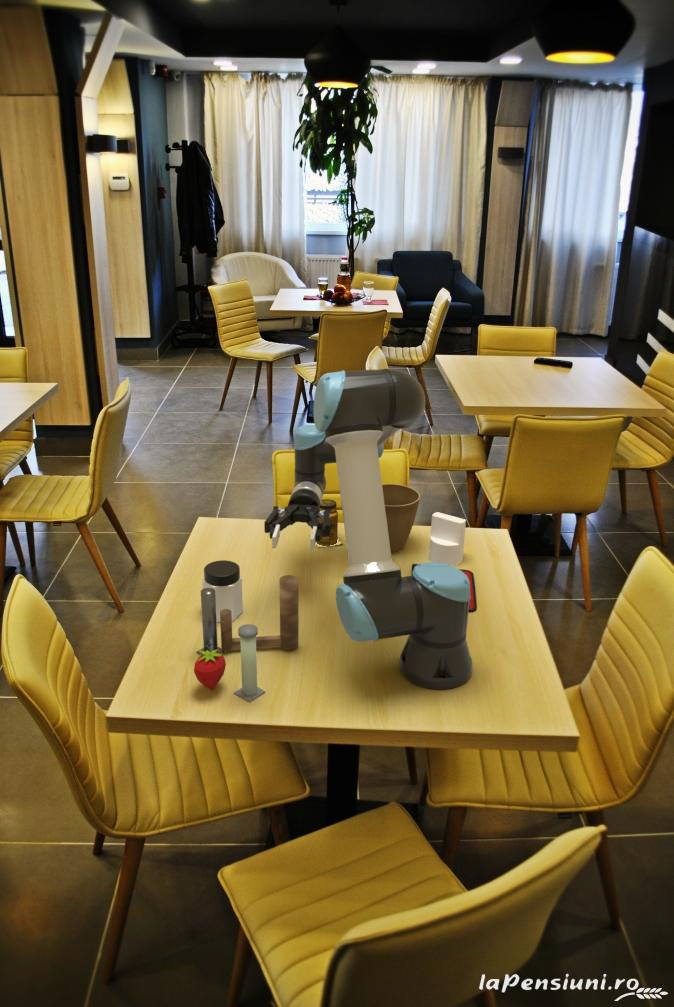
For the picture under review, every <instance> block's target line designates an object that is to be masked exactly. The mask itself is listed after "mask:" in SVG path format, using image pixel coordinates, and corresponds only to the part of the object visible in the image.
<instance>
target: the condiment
mask: <svg viewBox="0 0 674 1007" xmlns="http://www.w3.org/2000/svg"><path fill="white" fill-rule="evenodd" d="M326 509H331V520H330V524H331V534H330V536H325V535H322V537H321V541H316V542H317V544H319V545H322V546H330V545H334V544H336V543H337V539H338V538H339V536H338V531H339V529H338V527H339V525H338V524H339V523H338V522H339V521H338V520H339V518H338V517H339V512H338V510H337V509H338V508H337V502H336V500H334V499H330V498H329V499H327V498H326V499H322V501H321V505H320V511H325V510H326ZM317 519H318V521H319V522H320V523H322V527H324V521H323V520H322V518H321V516H320V517H319V518H317Z"/></svg>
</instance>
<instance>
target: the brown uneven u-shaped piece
mask: <svg viewBox="0 0 674 1007" xmlns="http://www.w3.org/2000/svg"><path fill="white" fill-rule="evenodd" d="M299 600H300V599H299V577H297V576H296V575H293V574H285V575H282V576H281V577H280V578H279V634H278V635H263V636H262V635H261V636H256V649H264V648H280V647H281V648H282V649H284V650H294V649H296V648H297V647H299V640H300V638H299V635H300V634H299V629H300V628H299V625H300V624H299V615H300V614H299V608H300V605H299ZM219 623H220V624H219V625H220V642H221V646H220V648H221V649H222V650H223V651H225V652H230V651H232V650H235V651H236V650H241V641H240V637H233V621H232V615H231V610H229V609H223V610H221V611H220V622H219Z"/></svg>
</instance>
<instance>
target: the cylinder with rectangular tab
mask: <svg viewBox="0 0 674 1007" xmlns="http://www.w3.org/2000/svg"><path fill="white" fill-rule="evenodd" d="M466 524H467V519H465V518H461V517H458V516H453V515H450V514H446V513H442V512H439V511H435V512H434V513H433V514H432V515H431V527H430V538H429V552H428V559H430V560H431V561H430V560H429V561H430V562H438V563H444V564H448V565H450V566H451V565H456V564H459V563H460V564H462V563H463V561H464V560H463V559H464V548H465V535H466ZM461 562H462V563H461ZM460 564H459V565H460ZM456 566H457V565H456Z"/></svg>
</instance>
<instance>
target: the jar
mask: <svg viewBox="0 0 674 1007" xmlns="http://www.w3.org/2000/svg"><path fill="white" fill-rule="evenodd" d="M240 571H241V570H240V566H239V564H238V563H236V562H234V561H232V560H223V559H222V560H215V561H211V562H209V563H207V564H206V565H205V566H204V568H203V577H204V578H202V589H204V588H213V589H214V590H215V598H216V620H217V623H220V611H221V610H223V609H229V610H231V615H232V622H235V621H236V620H237V618H239V616H241V615H242V613H243V611H244V607H243V578H242V576H241V572H240Z"/></svg>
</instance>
